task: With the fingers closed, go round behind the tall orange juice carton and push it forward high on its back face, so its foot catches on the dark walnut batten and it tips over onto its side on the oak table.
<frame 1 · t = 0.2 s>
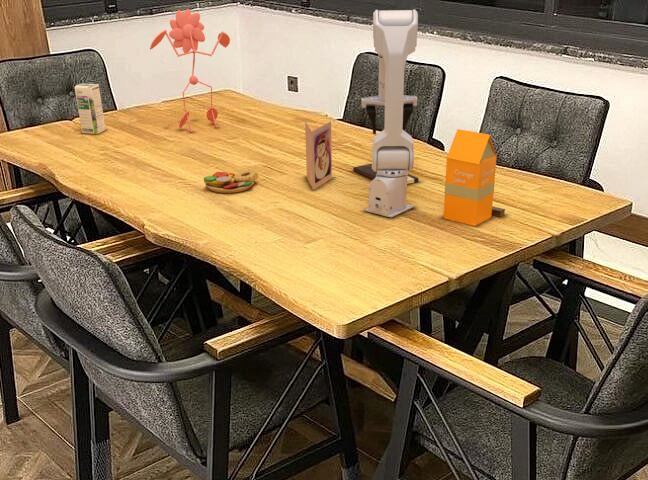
hand: (388, 132, 224), 11 cm above the table, tool pointing down, fingers open, 7 cm apart
syrup box: (94, 132, 271), on the table
figurine: (195, 126, 275), on the table
chocolate bar: (385, 176, 226), on the table
walnut batten: (480, 211, 202), on the table
greeting card: (313, 183, 223), on the table
toy food set: (230, 187, 220), on the table
orange juice: (467, 218, 198), on the table
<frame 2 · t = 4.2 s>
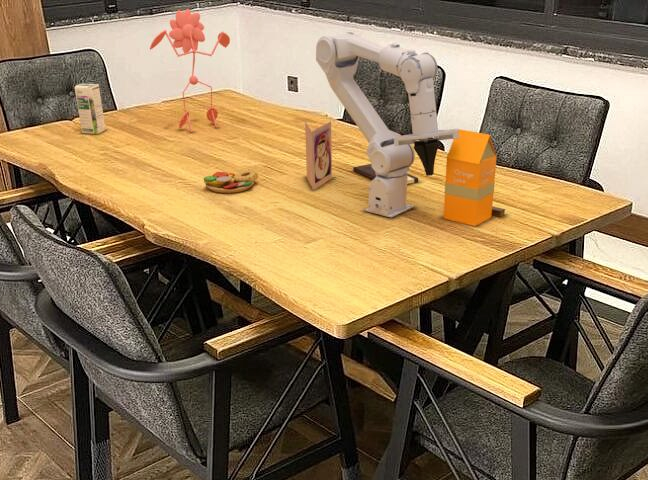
hand: (430, 174, 191), 11 cm above the table, tool pointing down, fingers closed
nothing on the table moved.
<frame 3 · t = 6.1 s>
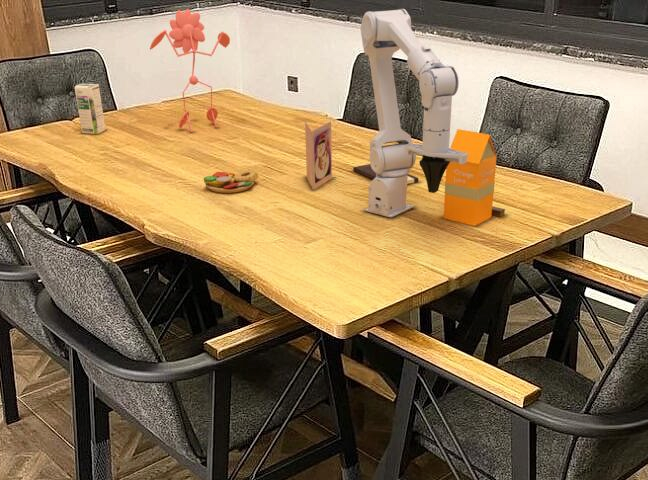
hand: (433, 191, 184), 10 cm above the table, tool pointing down, fingers closed
nothing on the table moved.
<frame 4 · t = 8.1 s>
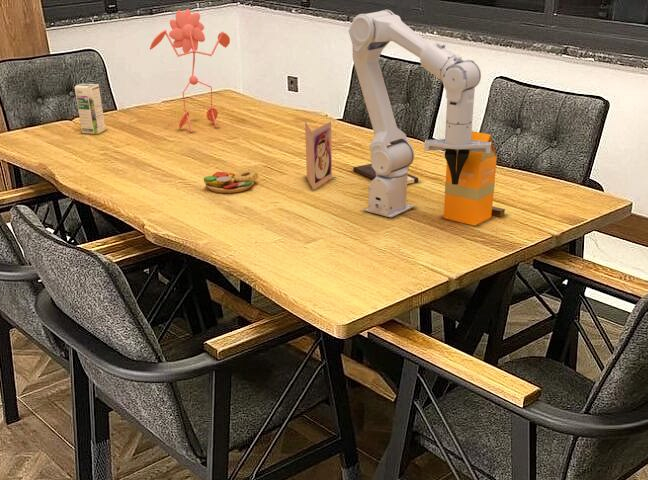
hand: (455, 183, 189), 10 cm above the table, tool pointing down, fingers closed
orange juice: (467, 218, 198), on the table, touching gripper
everything else where it was.
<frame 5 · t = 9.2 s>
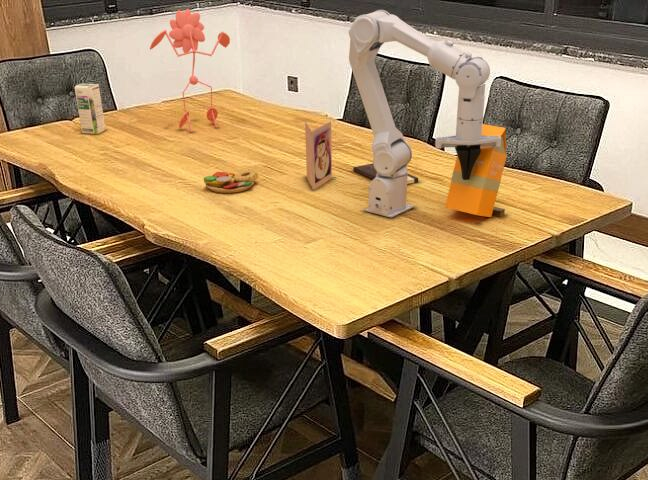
hand: (465, 178, 191), 10 cm above the table, tool pointing down, fingers closed
orange juice: (467, 213, 198), point 1 cm above the table
everything else where it was.
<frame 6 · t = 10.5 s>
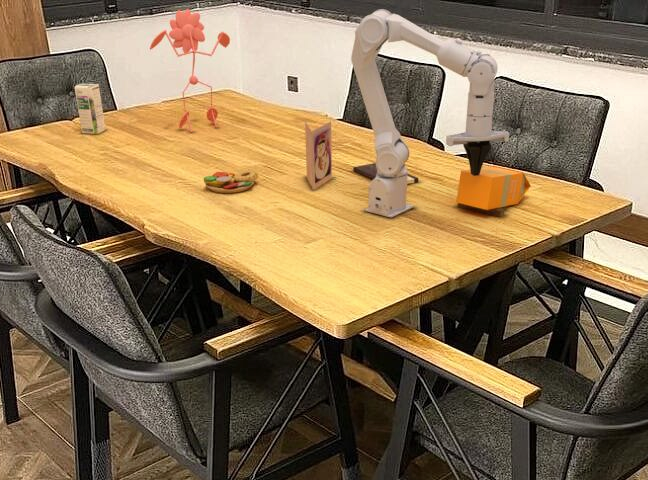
hand: (474, 174, 194), 10 cm above the table, tool pointing down, fingers closed
orange juice: (473, 190, 196), point 6 cm above the table, touching walnut batten
everything else where it was.
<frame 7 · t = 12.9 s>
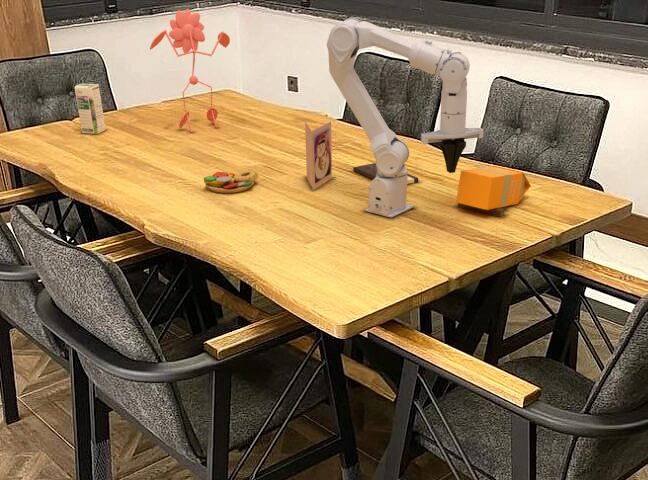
hand: (450, 171, 196), 10 cm above the table, tool pointing down, fingers closed
nothing on the table moved.
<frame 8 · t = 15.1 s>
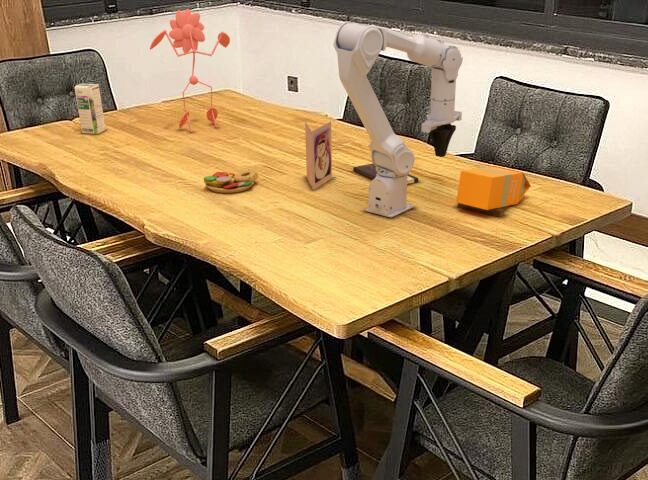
hand: (440, 155, 205), 10 cm above the table, tool pointing down, fingers closed
nothing on the table moved.
at the end: orange juice tilted 99°; orange juice inside the target area (6.4 cm from its centre), point 6.1 cm above the table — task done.
